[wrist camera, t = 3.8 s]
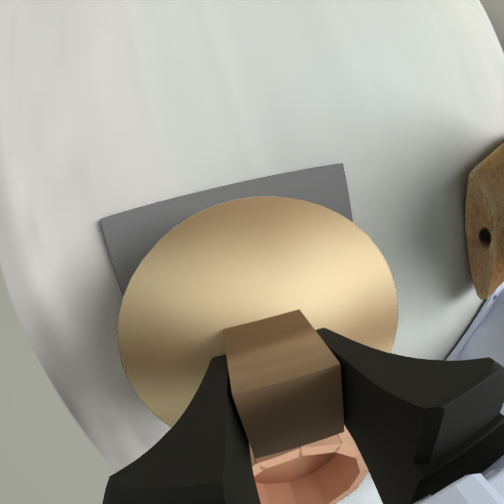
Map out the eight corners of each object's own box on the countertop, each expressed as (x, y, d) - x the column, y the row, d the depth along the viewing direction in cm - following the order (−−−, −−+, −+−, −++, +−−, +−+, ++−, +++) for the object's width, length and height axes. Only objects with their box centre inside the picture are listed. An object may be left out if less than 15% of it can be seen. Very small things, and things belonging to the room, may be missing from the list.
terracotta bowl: (280, 380, 18) (300, 426, 14) (368, 423, 21) (393, 459, 16) (194, 460, 19) (196, 505, 15) (288, 489, 21) (300, 525, 17)
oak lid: (84, 239, 11) (18, 272, 6) (375, 172, 12) (455, 170, 7) (177, 454, 13) (176, 525, 9) (387, 396, 14) (431, 449, 10)
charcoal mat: (102, 218, 15) (99, 219, 14) (339, 163, 16) (342, 163, 15) (174, 412, 18) (174, 417, 17) (361, 362, 19) (364, 365, 18)
